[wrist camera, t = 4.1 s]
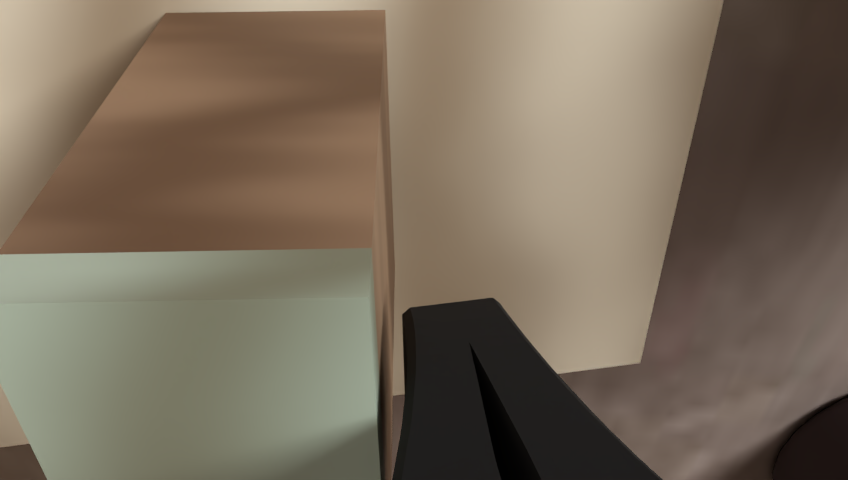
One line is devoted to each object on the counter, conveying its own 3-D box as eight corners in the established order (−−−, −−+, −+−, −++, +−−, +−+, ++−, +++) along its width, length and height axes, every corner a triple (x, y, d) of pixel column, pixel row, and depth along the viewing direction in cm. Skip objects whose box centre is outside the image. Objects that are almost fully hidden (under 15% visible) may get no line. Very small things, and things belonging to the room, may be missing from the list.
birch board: (768, -335, 13) (801, -335, 12) (626, 339, 23) (639, 363, 22) (-924, -322, 10) (-1028, -322, 9) (-263, 452, 20) (-285, 485, 19)
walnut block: (385, 9, 14) (369, 297, 8) (394, 266, 18) (389, 608, 11) (165, 12, 14) (-39, 304, 7) (220, 268, 17) (113, 614, 11)
